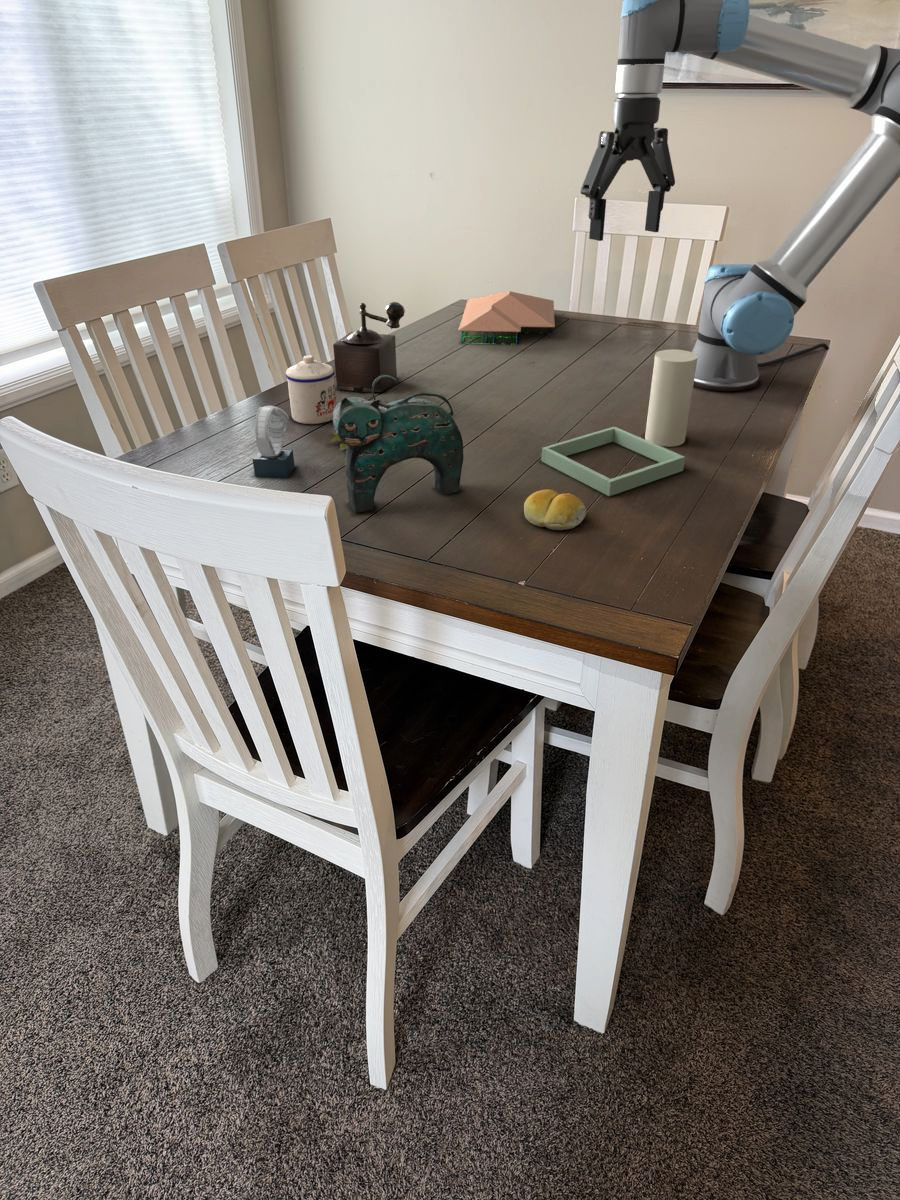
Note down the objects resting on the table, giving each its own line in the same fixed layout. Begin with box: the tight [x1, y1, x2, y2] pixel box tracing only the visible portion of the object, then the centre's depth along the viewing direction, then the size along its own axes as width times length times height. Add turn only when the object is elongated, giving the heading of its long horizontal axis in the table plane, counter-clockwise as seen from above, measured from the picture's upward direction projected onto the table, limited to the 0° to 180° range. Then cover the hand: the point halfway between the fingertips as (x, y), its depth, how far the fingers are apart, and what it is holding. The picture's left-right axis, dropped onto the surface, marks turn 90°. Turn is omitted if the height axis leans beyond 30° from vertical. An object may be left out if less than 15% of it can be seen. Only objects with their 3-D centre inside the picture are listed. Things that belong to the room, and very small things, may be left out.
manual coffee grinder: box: [332, 301, 406, 393], centre depth 170 cm, size 16×11×18 cm
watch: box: [252, 405, 296, 479], centre depth 135 cm, size 6×8×11 cm
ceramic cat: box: [332, 375, 465, 514], centre depth 124 cm, size 20×6×20 cm, turn 114°
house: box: [457, 290, 555, 345], centre depth 210 cm, size 23×33×8 cm
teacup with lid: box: [285, 354, 337, 425], centre depth 157 cm, size 12×9×12 cm
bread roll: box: [523, 489, 587, 531], centre depth 122 cm, size 8×9×4 cm
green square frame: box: [541, 426, 686, 497], centre depth 138 cm, size 17×17×2 cm
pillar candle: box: [644, 349, 698, 448], centre depth 144 cm, size 7×7×15 cm
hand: (624, 235), depth 148 cm, fingers open, 13 cm apart
